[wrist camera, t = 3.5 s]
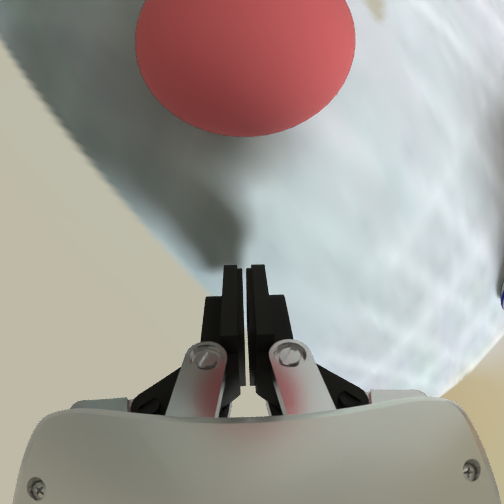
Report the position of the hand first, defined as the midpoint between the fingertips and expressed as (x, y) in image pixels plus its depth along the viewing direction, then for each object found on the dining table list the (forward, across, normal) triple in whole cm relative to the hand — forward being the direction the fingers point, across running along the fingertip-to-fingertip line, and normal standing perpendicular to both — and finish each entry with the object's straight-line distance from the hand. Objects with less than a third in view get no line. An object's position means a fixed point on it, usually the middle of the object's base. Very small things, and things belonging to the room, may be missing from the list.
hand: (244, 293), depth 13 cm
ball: (-1, 0, -10) cm, 10 cm away
